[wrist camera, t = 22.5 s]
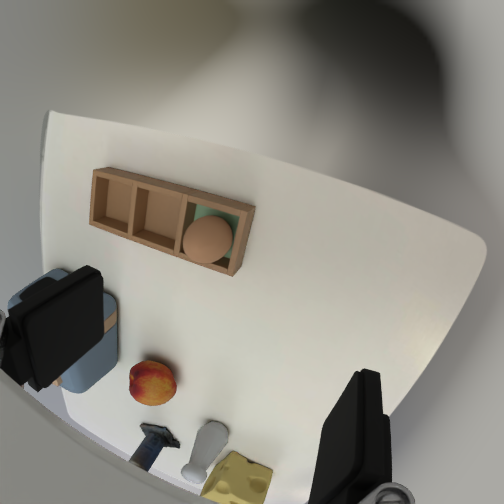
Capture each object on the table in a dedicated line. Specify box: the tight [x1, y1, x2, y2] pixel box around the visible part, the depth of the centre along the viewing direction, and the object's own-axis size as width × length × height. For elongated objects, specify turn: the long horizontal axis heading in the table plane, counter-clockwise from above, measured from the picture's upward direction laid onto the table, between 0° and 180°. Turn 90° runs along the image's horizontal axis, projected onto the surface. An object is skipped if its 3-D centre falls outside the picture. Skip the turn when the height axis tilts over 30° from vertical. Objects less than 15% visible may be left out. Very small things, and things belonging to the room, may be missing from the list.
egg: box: [183, 215, 233, 263], centre depth 35 cm, size 5×5×8 cm
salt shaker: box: [181, 421, 228, 484], centre depth 47 cm, size 6×6×13 cm
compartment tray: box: [89, 167, 256, 277], centre depth 39 cm, size 23×8×3 cm, turn 77°
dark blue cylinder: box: [128, 424, 180, 472], centre depth 54 cm, size 9×8×12 cm
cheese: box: [200, 451, 273, 504], centre depth 51 cm, size 10×11×10 cm
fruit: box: [129, 360, 177, 406], centre depth 47 cm, size 8×8×8 cm
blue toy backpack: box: [8, 269, 118, 393], centre depth 45 cm, size 16×16×16 cm
